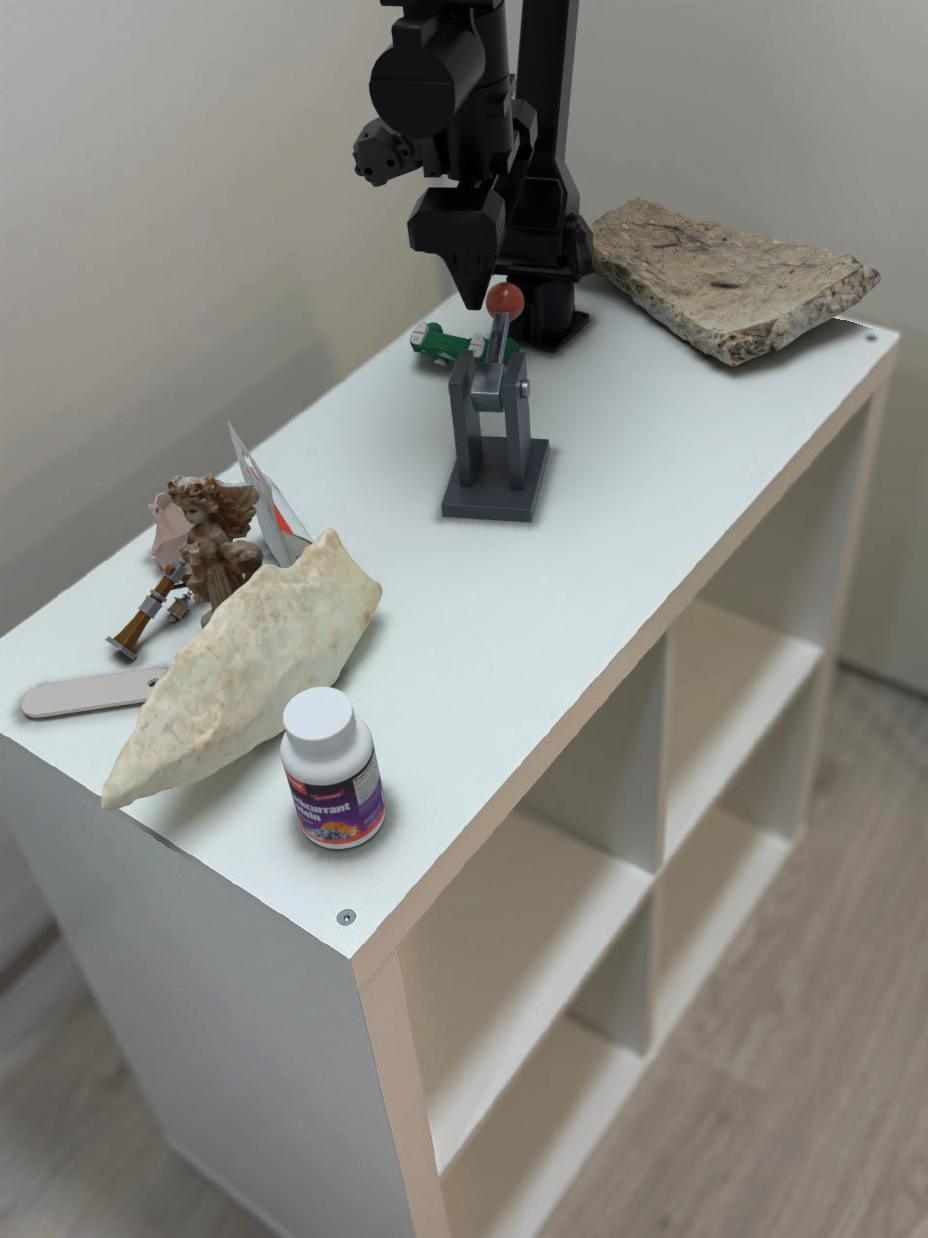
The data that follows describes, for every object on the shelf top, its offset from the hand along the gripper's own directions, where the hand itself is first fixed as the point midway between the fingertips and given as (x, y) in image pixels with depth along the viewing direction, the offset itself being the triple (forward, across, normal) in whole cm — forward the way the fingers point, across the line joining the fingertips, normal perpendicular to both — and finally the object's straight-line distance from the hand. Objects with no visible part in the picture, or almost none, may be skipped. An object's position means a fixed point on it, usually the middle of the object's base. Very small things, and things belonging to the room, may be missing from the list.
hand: (485, 277), depth 97 cm
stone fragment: (+10, -12, +11) cm, 19 cm away
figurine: (+13, +30, -13) cm, 35 cm away
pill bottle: (+13, +42, -2) cm, 44 cm away
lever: (+4, +5, +2) cm, 6 cm away
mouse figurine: (+13, +21, -19) cm, 31 cm away
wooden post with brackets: (+13, +28, -20) cm, 37 cm away
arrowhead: (+9, +24, -7) cm, 26 cm away
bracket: (+13, +9, +2) cm, 16 cm away
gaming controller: (+13, -8, -5) cm, 16 cm away
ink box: (+13, +21, -12) cm, 27 cm away
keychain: (+12, +36, -21) cm, 44 cm away
